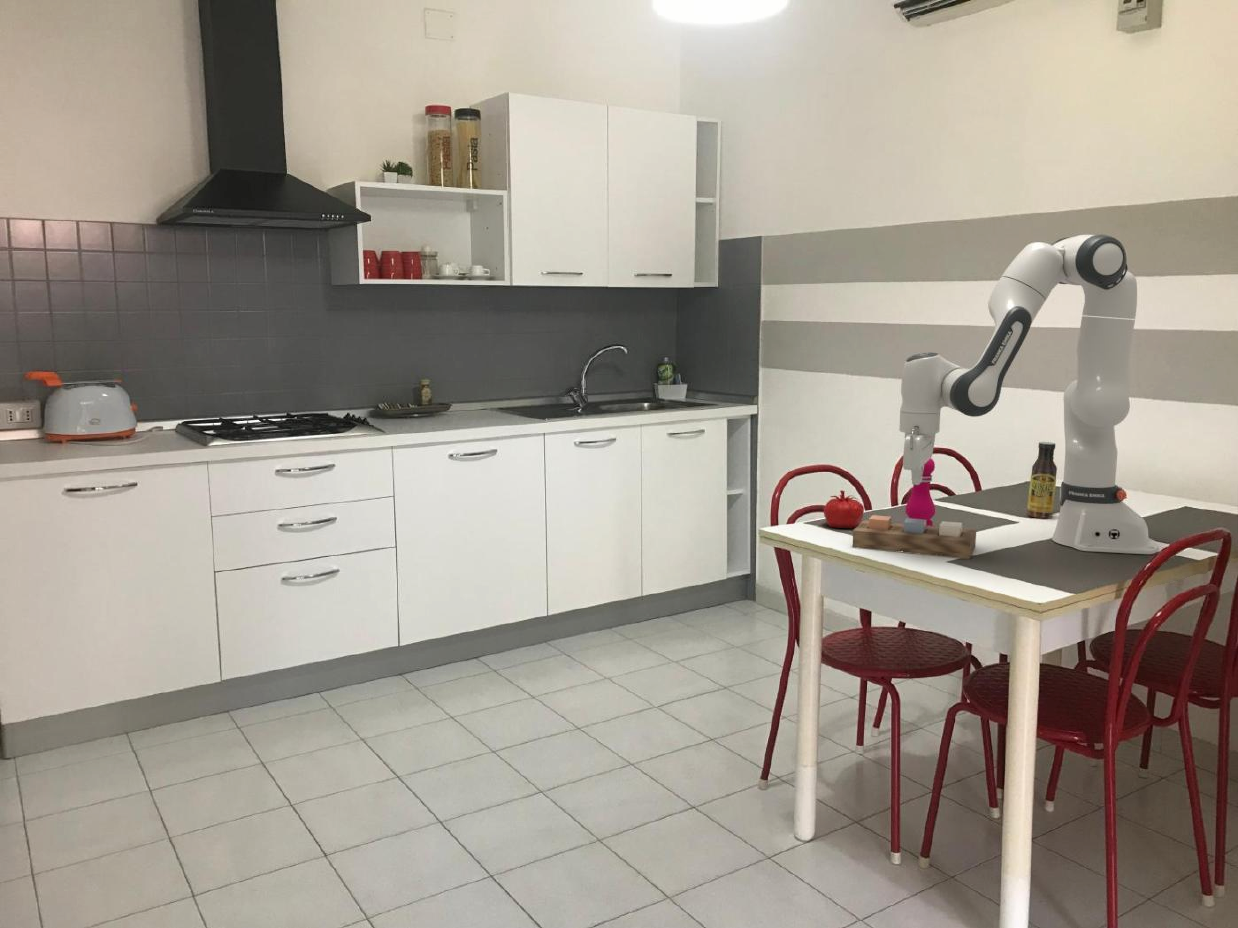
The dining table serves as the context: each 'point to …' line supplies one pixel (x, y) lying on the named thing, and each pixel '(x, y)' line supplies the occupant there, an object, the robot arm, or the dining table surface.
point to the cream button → (950, 529)
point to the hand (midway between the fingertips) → (916, 483)
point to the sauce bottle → (1042, 483)
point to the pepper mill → (922, 497)
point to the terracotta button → (880, 522)
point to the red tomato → (843, 512)
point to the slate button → (914, 526)
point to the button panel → (915, 541)
